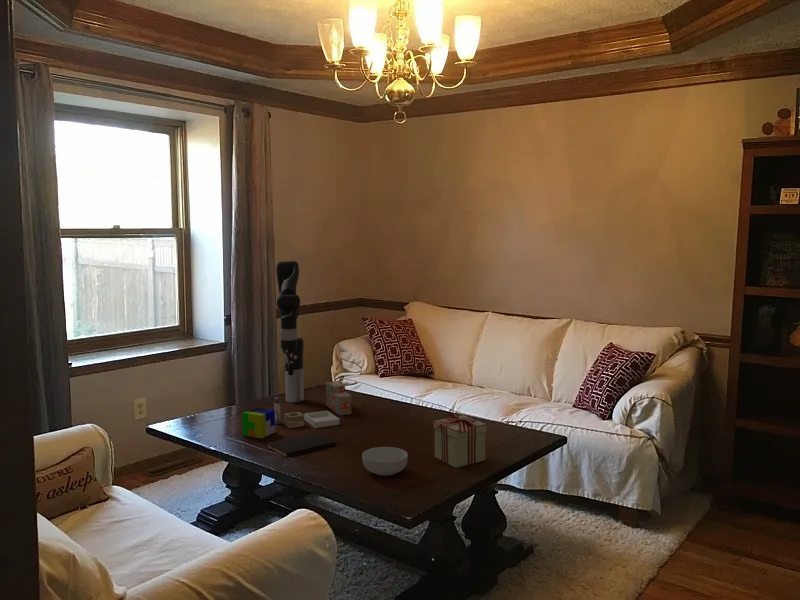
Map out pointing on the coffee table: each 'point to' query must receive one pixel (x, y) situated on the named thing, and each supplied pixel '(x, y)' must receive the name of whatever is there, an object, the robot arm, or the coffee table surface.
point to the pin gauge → (277, 409)
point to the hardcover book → (301, 444)
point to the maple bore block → (294, 419)
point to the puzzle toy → (258, 422)
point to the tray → (321, 419)
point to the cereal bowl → (385, 460)
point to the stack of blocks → (338, 398)
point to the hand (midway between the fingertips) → (289, 373)
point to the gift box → (459, 440)
